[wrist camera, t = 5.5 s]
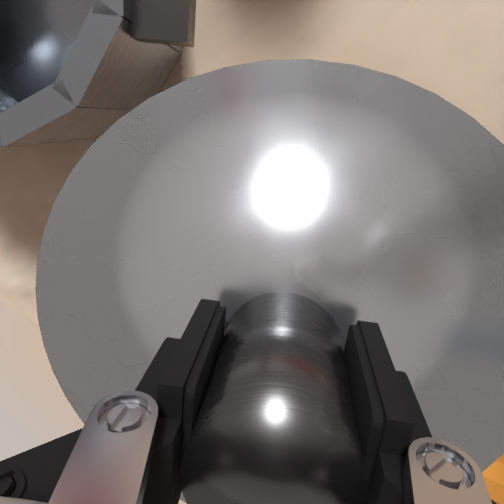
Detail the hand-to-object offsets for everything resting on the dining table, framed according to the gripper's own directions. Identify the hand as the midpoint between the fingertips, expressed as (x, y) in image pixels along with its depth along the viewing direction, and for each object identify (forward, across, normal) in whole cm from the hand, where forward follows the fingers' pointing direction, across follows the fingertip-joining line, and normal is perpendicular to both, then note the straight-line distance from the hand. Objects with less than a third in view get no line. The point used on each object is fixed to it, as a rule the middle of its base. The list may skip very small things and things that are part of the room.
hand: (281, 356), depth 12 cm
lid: (+3, 0, 0) cm, 3 cm away
